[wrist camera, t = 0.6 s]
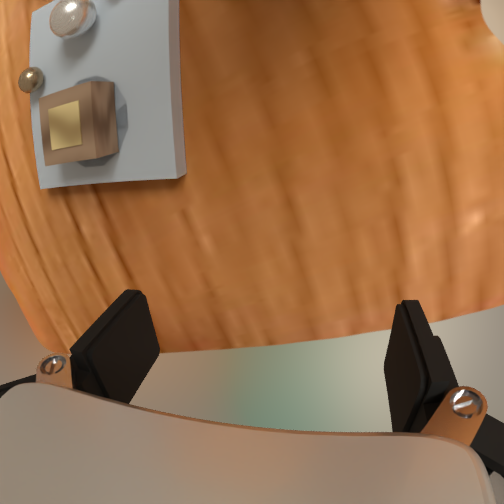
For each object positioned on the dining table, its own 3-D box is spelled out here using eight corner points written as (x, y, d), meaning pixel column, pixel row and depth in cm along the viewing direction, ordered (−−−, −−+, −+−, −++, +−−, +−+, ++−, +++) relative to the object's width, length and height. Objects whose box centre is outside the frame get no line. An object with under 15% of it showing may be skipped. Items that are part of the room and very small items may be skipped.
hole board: (45, 14, 31) (32, 12, 28) (179, -37, 26) (169, -45, 24) (53, 183, 42) (40, 188, 39) (186, 173, 38) (176, 178, 35)
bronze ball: (32, 70, 32) (13, 71, 29) (49, 63, 31) (29, 62, 28) (32, 95, 34) (13, 97, 30) (49, 88, 33) (30, 89, 29)
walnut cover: (62, 96, 33) (37, 98, 29) (113, 81, 31) (89, 81, 27) (68, 159, 36) (44, 166, 32) (118, 151, 35) (95, 158, 31)
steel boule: (71, 8, 28) (41, 2, 22) (107, -7, 27) (77, -18, 21) (69, 47, 30) (38, 44, 25) (105, 34, 29) (74, 27, 24)
